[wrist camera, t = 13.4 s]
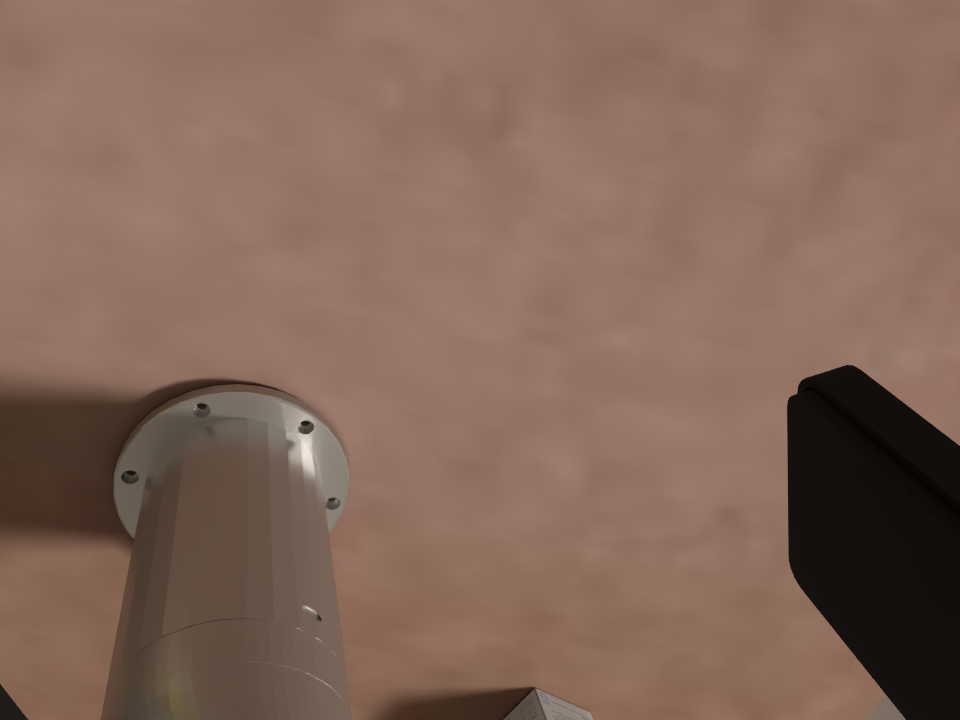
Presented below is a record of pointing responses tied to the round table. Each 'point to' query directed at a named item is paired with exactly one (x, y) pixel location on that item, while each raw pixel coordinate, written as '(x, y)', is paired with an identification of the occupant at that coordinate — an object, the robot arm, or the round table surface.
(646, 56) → the round table surface
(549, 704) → the light bulb box
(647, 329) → the round table surface
